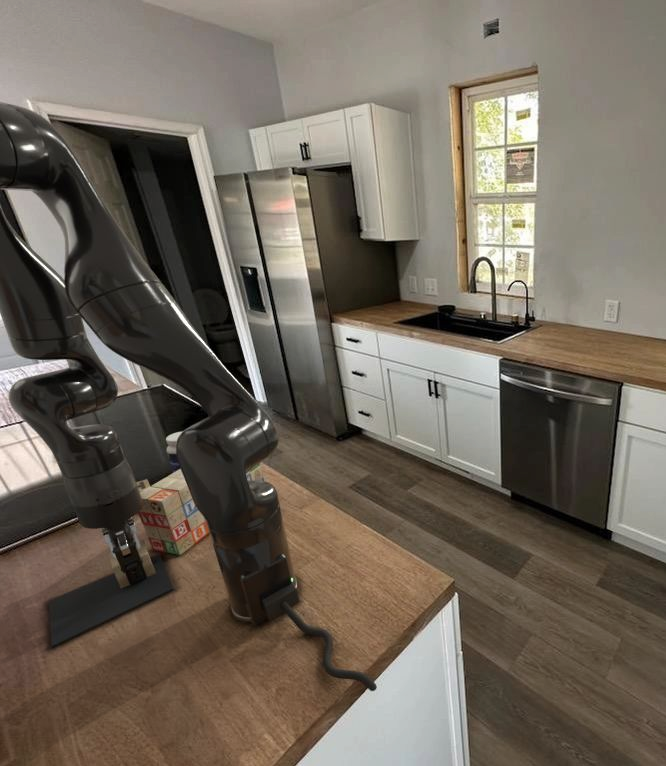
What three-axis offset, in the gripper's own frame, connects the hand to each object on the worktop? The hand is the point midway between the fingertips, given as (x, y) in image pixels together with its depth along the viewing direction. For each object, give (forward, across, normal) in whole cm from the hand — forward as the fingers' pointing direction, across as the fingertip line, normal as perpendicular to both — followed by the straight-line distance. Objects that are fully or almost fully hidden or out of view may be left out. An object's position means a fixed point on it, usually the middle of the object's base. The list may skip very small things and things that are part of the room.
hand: (136, 572), depth 71 cm
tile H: (+1, -23, +4) cm, 24 cm away
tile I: (0, 0, 0) cm, 0 cm away
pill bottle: (+1, -31, +14) cm, 34 cm away
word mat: (+1, +3, -3) cm, 4 cm away
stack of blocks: (+1, -8, +14) cm, 16 cm away
